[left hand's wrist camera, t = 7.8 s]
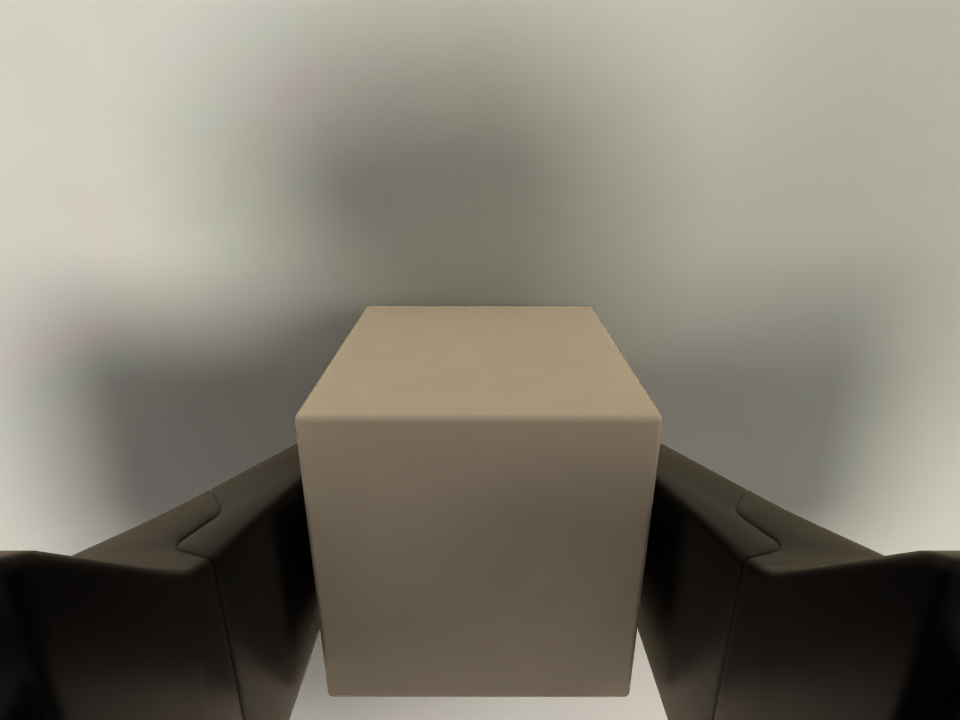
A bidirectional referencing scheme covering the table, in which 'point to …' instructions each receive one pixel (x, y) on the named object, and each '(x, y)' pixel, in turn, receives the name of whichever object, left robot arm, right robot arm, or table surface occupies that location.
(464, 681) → the block
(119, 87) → the table surface
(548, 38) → the table surface
